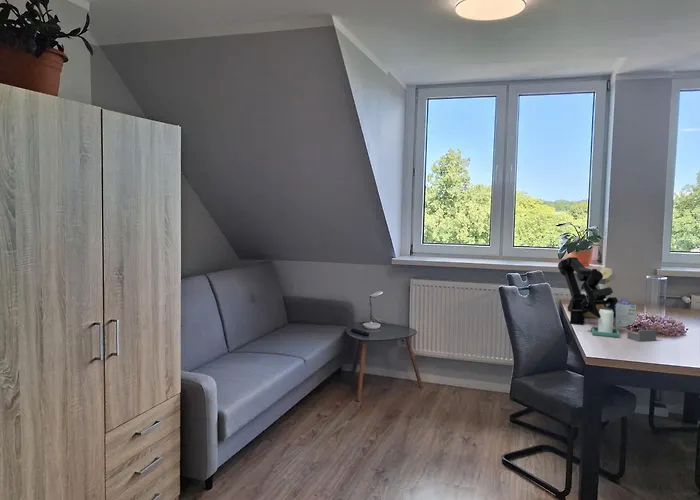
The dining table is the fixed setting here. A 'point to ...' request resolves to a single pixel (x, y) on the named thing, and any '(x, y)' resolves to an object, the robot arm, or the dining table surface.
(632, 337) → the bay
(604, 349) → the dining table surface
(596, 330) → the tray
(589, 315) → the diary
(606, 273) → the flower in vase
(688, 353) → the dining table surface
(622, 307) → the ink cartridge box
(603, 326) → the can
